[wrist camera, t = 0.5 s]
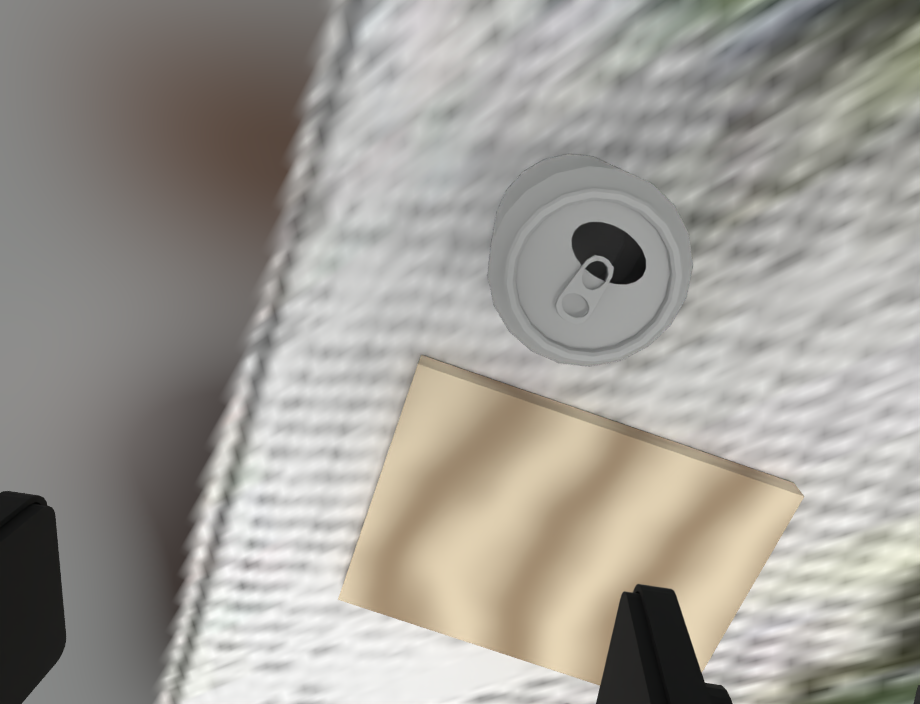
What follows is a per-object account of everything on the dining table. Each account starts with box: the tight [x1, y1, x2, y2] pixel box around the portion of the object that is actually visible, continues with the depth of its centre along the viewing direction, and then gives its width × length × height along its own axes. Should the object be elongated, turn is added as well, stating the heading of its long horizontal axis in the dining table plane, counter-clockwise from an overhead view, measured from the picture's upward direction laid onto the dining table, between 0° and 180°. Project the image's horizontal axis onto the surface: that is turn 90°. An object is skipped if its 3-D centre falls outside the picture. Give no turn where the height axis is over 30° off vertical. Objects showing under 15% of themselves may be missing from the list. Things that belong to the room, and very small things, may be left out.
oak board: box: [338, 355, 804, 685], centre depth 40 cm, size 22×16×2 cm
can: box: [487, 154, 693, 366], centre depth 30 cm, size 8×8×12 cm
